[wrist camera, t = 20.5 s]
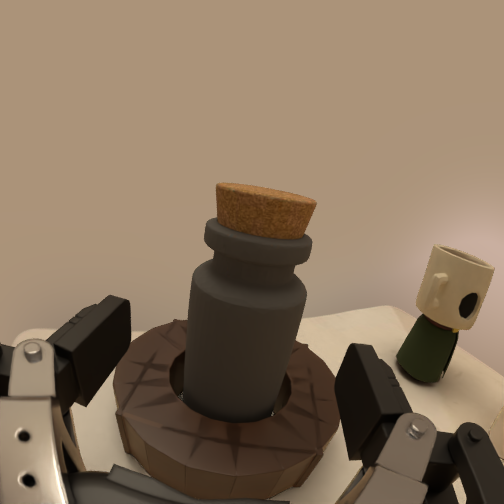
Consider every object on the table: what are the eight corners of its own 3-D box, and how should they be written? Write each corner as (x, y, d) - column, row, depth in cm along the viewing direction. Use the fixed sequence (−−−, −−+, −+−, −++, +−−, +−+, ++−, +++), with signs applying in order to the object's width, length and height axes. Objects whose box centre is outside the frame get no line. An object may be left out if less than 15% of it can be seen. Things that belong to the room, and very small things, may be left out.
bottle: (200, 380, 20) (226, 180, 16) (273, 401, 19) (327, 199, 15) (168, 431, 15) (181, 180, 11) (257, 460, 14) (332, 209, 10)
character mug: (412, 404, 20) (476, 269, 16) (366, 363, 26) (410, 239, 22) (459, 372, 24) (505, 268, 21) (420, 344, 30) (457, 246, 27)
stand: (87, 461, 11) (70, 422, 10) (160, 341, 24) (161, 303, 23) (331, 510, 10) (361, 481, 9) (313, 371, 24) (326, 335, 23)
